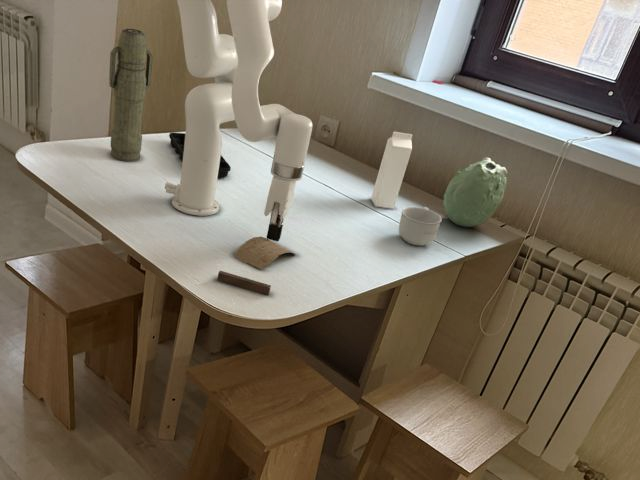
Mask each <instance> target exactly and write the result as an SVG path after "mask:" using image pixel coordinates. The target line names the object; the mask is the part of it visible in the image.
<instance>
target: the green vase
mask: <svg viewBox="0 0 640 480" xmlns="http://www.w3.org/2000/svg"><path fill="white" fill-rule="evenodd" d="M507 175H508V170H507V168H506V167H505V166H501V165H500V164H496V163H495V161H493V160H492V159H491V158H490V157H487V156H486V157H482V160H480V161H477V162H475V163H472V164H468V166H467V167H466V168H463V166H460V168H459V169H457V171H456V173H455V175H454V177H453V178H451V180H450V181H449V182H448V185H447V187H446V189H445V193H444V194H443V196H442V198H443V201H442V204H443V208H444V211H445V214H446V215H447V218H448V219H450V221H451V222H452V223H454V224H455V225H457V226H460V227H467V228H473V227H477V226H479V225H483V224H485V223H487V221H489V220H490V219H491V218H492V216H494V214H495V213H496V211H497V209H498V208H499V207H500V205H501V203H502V201H503V199H504V195H505V191H506V187H507V180H508V177H506V176H507Z"/></svg>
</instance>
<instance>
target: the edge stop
mask: <svg viewBox="0 0 640 480" xmlns="http://www.w3.org/2000/svg"><path fill="white" fill-rule="evenodd" d="M216 281H217V282H221V283H225V284H227V285H230V286H231V285H232V286H235V287H238V288H241V289H244V290H248V291H252V292H255V293H258V294H261V295H265V296H269V295H270V292H271V287H272V285H271V284H267V283H264V282H261V281H257V280H254V279H250V278H247V277H243V276H240V275H237V274H233V273H230V272H227V271H223V270H219V271H218V273H217V279H216Z"/></svg>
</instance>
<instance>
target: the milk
mask: <svg viewBox="0 0 640 480" xmlns="http://www.w3.org/2000/svg"><path fill="white" fill-rule="evenodd" d="M412 139H413V134H412V133H406V132H399V131H393V132H392V135H391V136H390V137H389V138H387V141H386V145H385V148H384V152H383V155H382V158H381V162H380V166H379V170H378V173H377V177H376V180H375V183H374V186H373V190H372V194H371V198H370V199H371V201H372V203H373V205H374V207H375V208H384V209H391V210H394V209H395V206H396V203H397V199H398V196H399V194H400V189H401V187H402V183H403V180H404V177H405V173H406V170H407V167H408V164H409V161H410V157H411V155H412V152H413V151H412V150H413V142H412Z"/></svg>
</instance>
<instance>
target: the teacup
mask: <svg viewBox="0 0 640 480" xmlns="http://www.w3.org/2000/svg"><path fill="white" fill-rule="evenodd" d="M442 221H443V220H442V216H441V215H439V214H438V213H437V212H435V211H432V210H429V208H428V207H426V206H424V207H417V206H416V207H415V206H411V207H405V208H403V209H402V211H401V216H400V220H399V224H398V233H399V235H400V237H401V238H402V239H403V240H404V241H405V242H406V243H408V244H410V245H413V246H419V247H420V246H425V245H428V244H429V243H432V242H433V241H434V240H435V239H436V236H437V235H438V231H439V228H440V225H441V222H442Z"/></svg>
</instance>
